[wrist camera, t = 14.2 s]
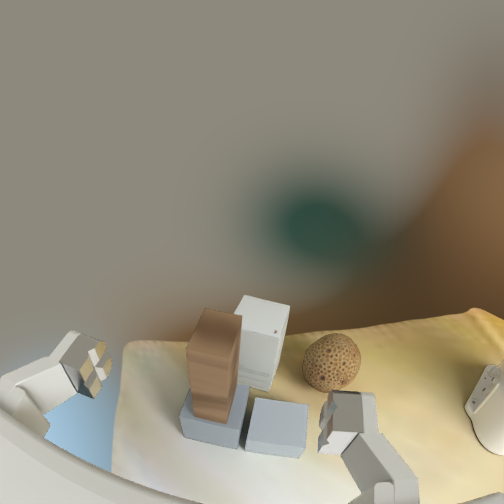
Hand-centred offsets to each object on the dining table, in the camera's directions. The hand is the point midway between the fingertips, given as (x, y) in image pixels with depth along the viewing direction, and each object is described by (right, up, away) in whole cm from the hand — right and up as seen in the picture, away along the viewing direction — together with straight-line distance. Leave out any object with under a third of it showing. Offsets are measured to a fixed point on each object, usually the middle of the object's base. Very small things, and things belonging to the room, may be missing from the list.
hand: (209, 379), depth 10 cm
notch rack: (+1, -21, +28) cm, 35 cm away
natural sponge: (+13, -17, +37) cm, 42 cm away
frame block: (-3, -14, +25) cm, 29 cm away
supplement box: (+2, -15, +38) cm, 41 cm away
